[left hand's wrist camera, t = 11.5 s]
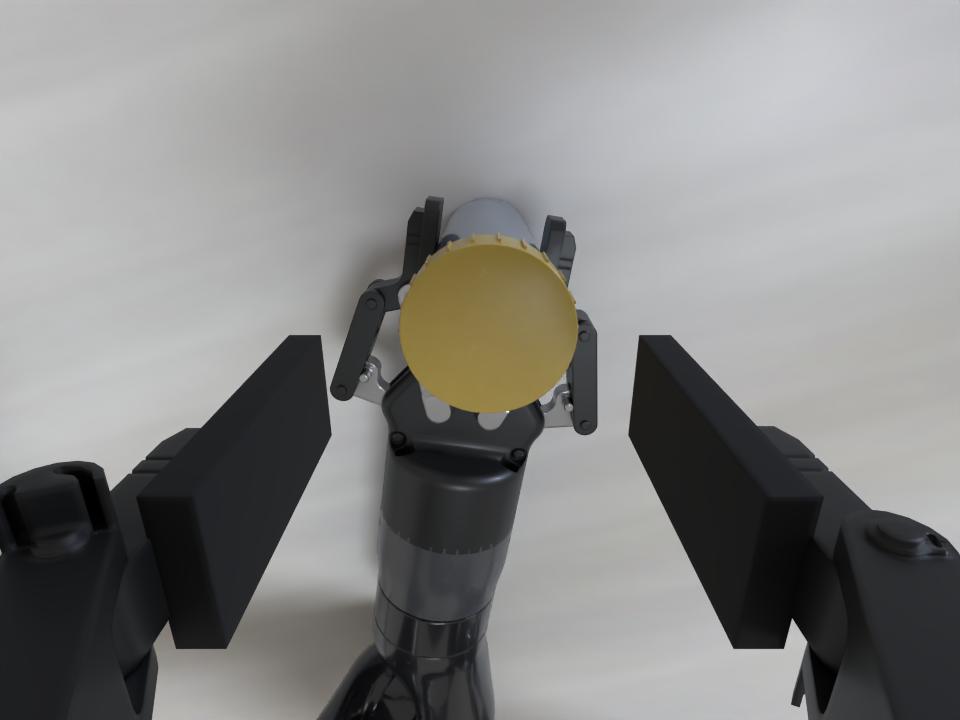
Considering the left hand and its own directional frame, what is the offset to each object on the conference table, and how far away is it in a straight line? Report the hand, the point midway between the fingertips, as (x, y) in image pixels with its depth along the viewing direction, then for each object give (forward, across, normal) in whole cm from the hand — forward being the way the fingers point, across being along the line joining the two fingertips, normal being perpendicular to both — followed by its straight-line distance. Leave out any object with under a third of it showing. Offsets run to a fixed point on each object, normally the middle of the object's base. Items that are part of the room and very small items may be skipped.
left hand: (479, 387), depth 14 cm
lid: (+4, 0, 0) cm, 4 cm away
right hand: (+14, -1, -3) cm, 14 cm away
